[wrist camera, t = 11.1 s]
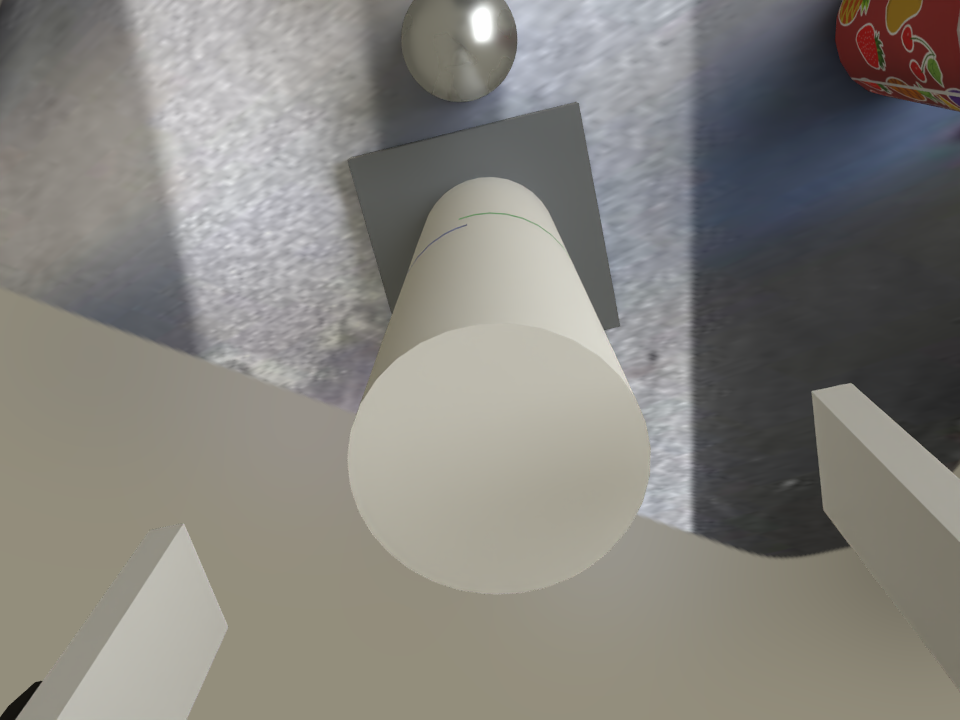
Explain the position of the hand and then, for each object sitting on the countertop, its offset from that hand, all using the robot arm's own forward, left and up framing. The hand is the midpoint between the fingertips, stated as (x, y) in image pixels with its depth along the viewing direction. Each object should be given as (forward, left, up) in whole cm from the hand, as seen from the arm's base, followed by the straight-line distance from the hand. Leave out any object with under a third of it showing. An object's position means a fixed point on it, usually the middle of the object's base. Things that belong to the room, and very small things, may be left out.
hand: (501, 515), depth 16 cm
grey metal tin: (-10, +1, -29) cm, 30 cm away
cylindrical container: (0, 0, -28) cm, 28 cm away
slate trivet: (0, 0, -29) cm, 29 cm away
